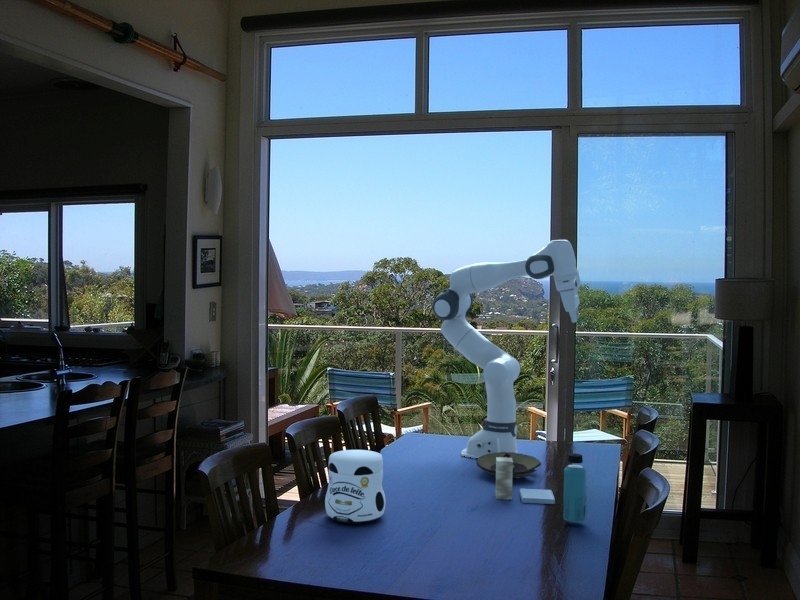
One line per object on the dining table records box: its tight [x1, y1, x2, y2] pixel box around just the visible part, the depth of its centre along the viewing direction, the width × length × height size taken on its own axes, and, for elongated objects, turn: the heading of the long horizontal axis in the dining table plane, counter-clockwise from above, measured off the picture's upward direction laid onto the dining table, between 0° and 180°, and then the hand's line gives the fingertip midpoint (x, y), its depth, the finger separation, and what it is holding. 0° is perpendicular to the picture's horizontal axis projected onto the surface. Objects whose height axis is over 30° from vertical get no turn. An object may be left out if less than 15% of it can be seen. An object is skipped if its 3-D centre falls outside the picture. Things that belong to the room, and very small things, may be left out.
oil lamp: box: [476, 452, 542, 480], centre depth 253 cm, size 22×30×8 cm
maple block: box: [494, 457, 513, 500], centre depth 229 cm, size 5×5×12 cm
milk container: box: [324, 449, 387, 525], centre depth 206 cm, size 17×17×18 cm
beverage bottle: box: [562, 452, 588, 524], centre depth 204 cm, size 6×7×20 cm
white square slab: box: [519, 488, 556, 505], centre depth 228 cm, size 10×10×2 cm
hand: (575, 320), depth 261 cm, fingers open, 8 cm apart
